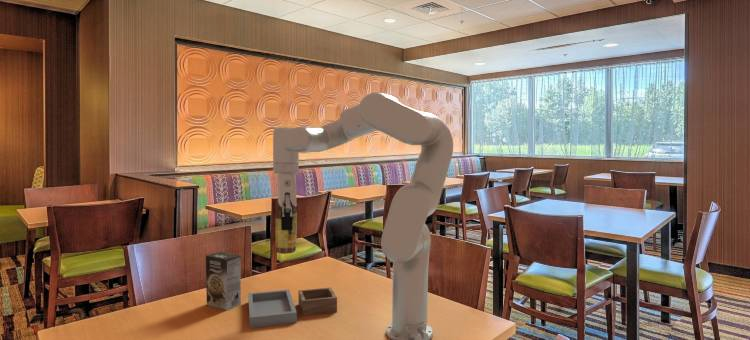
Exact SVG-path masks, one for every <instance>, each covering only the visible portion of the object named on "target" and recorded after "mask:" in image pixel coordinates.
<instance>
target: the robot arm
mask: <svg viewBox="0 0 750 340" xmlns="http://www.w3.org/2000/svg"><path fill="white" fill-rule="evenodd" d="M377 131H379V132H381V133H384V134H385V135H388V136H389V137H391V138H393V139H395V140H397V141H399V142H401V143H404V144H406V145H410V146H420V153H419V155H418V158H417V159H416V162H415V165H414V170H413V173H412V176H411V179H410V182H409V183H407V184H405V185H403V186H401V187H400V188H398V190H397V191H396V193H394V196H393V198H392V201H391V203H390V206H389V209H388V210H389V211H388V214H387V217H386V221H385V224H384V228H383V231H382V235H381V238H380V239H381V241H380V245H381V247H380V248H381V250H382V252H383V254H384V256H385V258H387V260H389V261H391V262H392V288H391V289H392V295H391V296H392V299H391V300H392V302H391V303H392V305H391V306H392V309H391V311H392V312H391V315H392V316H391V317H392V318H391V320H392V321H391V323H390V324H389V325H387V327H386V329H385V330H386V336H387V337H389V339H391V340H431V339H432V337H434V336H433V335H434V334H433V332H434V329H433V328H432V327H431V326H430V325H429V324H428V301H429V300H428V299H429V298H428V297H429V296H428V293H429V292H428V291H429V263H430V262H429V260H430V252H431V251H430V250H431V241H432V237H431V231H430V229H429V227H428V225H427V224H426V222H427V218H428V217H429V216H431V215H433V214H434V212H435V211H437V209H438V206H439V205H440V204H439V203H440V199H441V196H442V193H443V189H444V186H445V183H446V179H447V175H448V171H449V168H450V165H451V162H452V158H453V152H454V139H453V136H452V133H451V131H450V127H448V125H447V124H446V123H445V122H444V120H442V119H441V118H440V117H438V116H437V115H435V114H433V113H431V112H425V111H420V110H416V109H415V108H412V107H410V106H407V105H406V104H402V103H401V102H400V100H398V98H397V97H395V96H393V95H391V94H387V93H383V92H378V91H377V92H376V91H375V92H370V93H368V94H366V95H365V96H364V97H363V98H362V99H361V101H360V103H359V104H356V105H353V106H351V107H348V108H346V109H343V110H342V111H341V112H340V115H339V118H338V119H336V120H334V121H332V122H329V123H327V124H324V125H321V126H297V127H291V126H290V127H289V126H288V127H286V126H285V127H284V126H281V127H276V128H274V129H273V131H272V132H273V133H272V172H273V174H274V175H277V177H276V182H277V183H276V186H277V191H276V192H277V203H278V205H280V207H282V217H281V229H282V230H292V222H293V217H292V205H293V206H294V207H295V208H296V207H297V206H298V205H297V180H296V179H297V178H296V175H297V174H299V173H300V172H299V171H300V168H299V167H300V165H299V162H300V160H299V157H300V156H299V155H300V153H302V154H307V153H308V154H309V153H321V152H325V151H329V150H332V149H333V148H336V147H339V146H342V145H344V144H347V143H349V142H352V141H353V140H355V139H357V138H361V137H363V136H366V135H369V134H371V133H374V132H375V133H376V132H377ZM283 202H284V204H283ZM284 205H286V206H284Z"/></svg>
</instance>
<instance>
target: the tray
mask: <svg viewBox="0 0 750 340" xmlns="http://www.w3.org/2000/svg"><path fill="white" fill-rule="evenodd" d="M247 296H248V301H247V302H248V318H249V329H251V328H253V329H255V328H260V327H270V326H279V325H280V326H281V325H287V324H288V325H289V324H294V323H295V324H296V323H298V314H297V313H298V312H297V309H296V307H295V303H294V300H293V297H292V294H291V291H290V288H289V289H278V290H268V291H258V292H248V295H247Z"/></svg>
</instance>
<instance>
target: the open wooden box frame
mask: <svg viewBox="0 0 750 340" xmlns="http://www.w3.org/2000/svg"><path fill="white" fill-rule="evenodd" d="M298 307H299V310H300V312H301V316H302V317H305V316H313V315H314V316H315V315H321V314H330V313H331V314H332V313H337V312H338V297H337V295H336V294H335V292H334V290H333V289H332V287H323V288H321V287H319V288H313V289H310V288H309V289H302V290H300V289H299V290H298Z"/></svg>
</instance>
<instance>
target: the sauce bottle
mask: <svg viewBox="0 0 750 340" xmlns="http://www.w3.org/2000/svg"><path fill="white" fill-rule="evenodd" d="M283 204H284V202H283ZM284 206H286V205H284ZM297 214H298V213H297V209H296V207H294V206H293V205H292V217H293V222H292V230H282V229H281V217H282V207H280V205H279V204H278V206H276V211H275V252H276V253H278V254H283V255H285V254H286V255H288V254H292V253H295V252H296V248H297V233H298V232H297V228H298V227H297V222H298V220H297V219H298V218H297V217H298V216H297Z"/></svg>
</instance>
